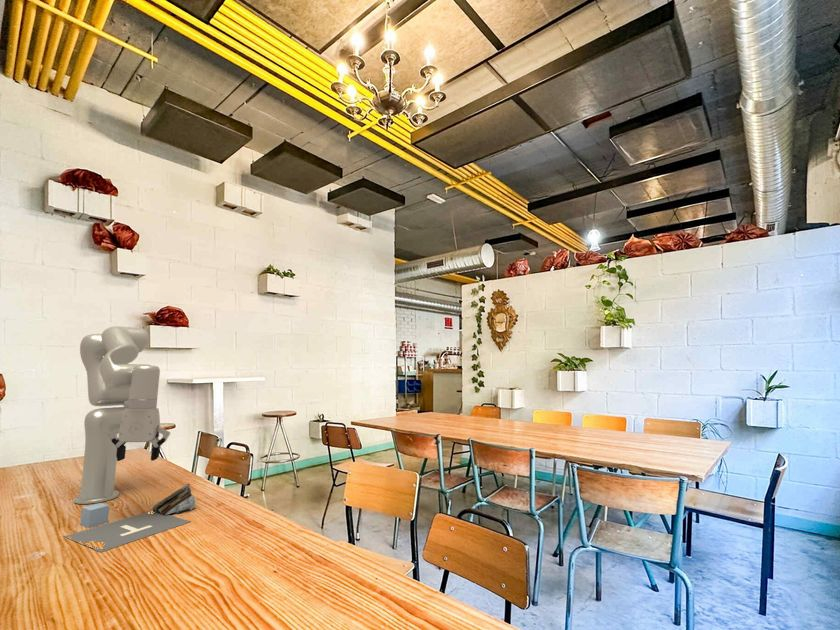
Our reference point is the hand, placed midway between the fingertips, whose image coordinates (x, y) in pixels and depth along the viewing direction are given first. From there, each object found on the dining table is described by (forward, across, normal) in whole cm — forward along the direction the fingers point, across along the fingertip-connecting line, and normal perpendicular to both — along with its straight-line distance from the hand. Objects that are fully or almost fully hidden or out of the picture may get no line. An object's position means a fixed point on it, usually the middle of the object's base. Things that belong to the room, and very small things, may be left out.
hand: (137, 459), depth 129 cm
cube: (+18, -9, -2) cm, 20 cm away
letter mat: (+18, +4, -8) cm, 20 cm away
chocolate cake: (+18, +11, +6) cm, 22 cm away
